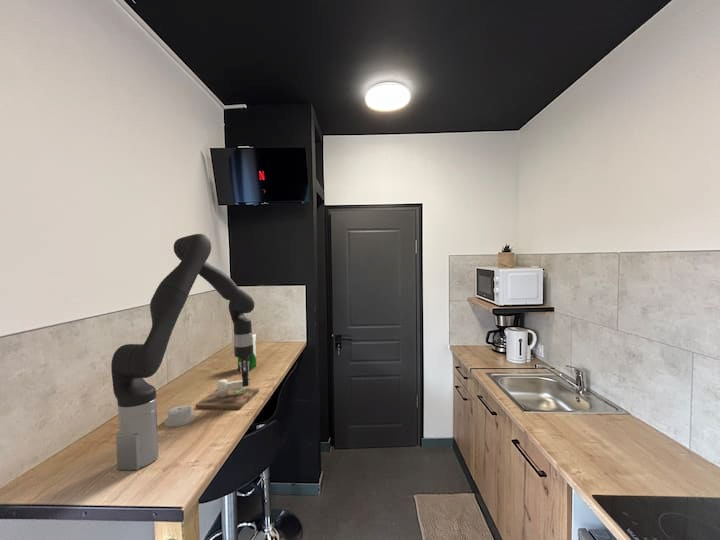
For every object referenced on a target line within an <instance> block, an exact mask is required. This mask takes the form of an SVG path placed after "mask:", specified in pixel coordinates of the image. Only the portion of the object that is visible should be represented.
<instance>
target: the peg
mask: <svg viewBox="0 0 720 540" xmlns="http://www.w3.org/2000/svg"><path fill="white" fill-rule="evenodd" d="M216 384H217V389H218V397H226V396H228V390H230V389H237V388H250V386H251V383H250V378H248V386H243V381H242V379H241V380H234V381H233V380H232V381H229V380H228V379H227V378H226V379H220V380H217V382H216Z"/></svg>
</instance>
